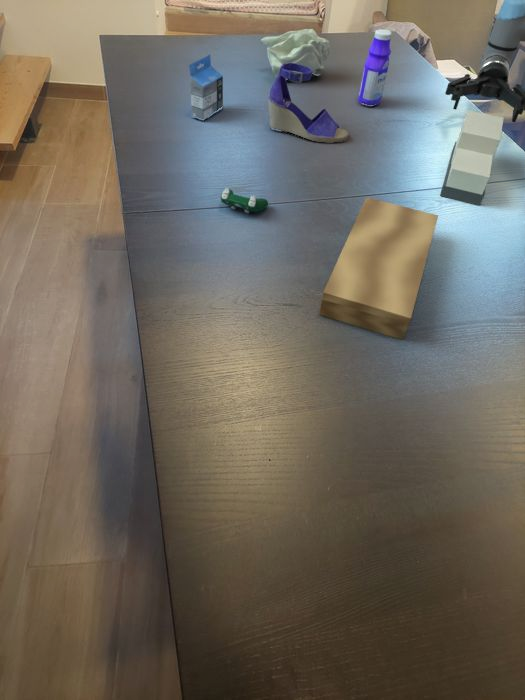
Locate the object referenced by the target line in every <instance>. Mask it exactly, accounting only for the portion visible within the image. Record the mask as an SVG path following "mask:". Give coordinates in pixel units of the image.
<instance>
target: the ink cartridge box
mask: <svg viewBox="0 0 525 700" xmlns="http://www.w3.org/2000/svg"><path fill="white" fill-rule="evenodd" d="M211 63H212V62H211V54H208V55H206V56H204V57H202V58H200V59H198V60H196V61H194V62H193V63H190V64H189V65H188V66H189V74H190V75H189V76H190V100H191V101H190V106H191V107H190V108H191V117H192V116H195V117H198V118H201V119H205V118H207V117H208V116H210V115H211V114H213V113H214V112H215V111H217V110H218V109H219V108H221V107H222V106H223V107H224V77H223V75H222V74H221V73H220V72H219V71H217V69H216V68H214V67H213V66H212V64H211ZM200 65H203V66H200ZM199 66H200V67H199ZM198 67H199V68H198Z"/></svg>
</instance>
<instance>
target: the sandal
mask: <svg viewBox="0 0 525 700" xmlns="http://www.w3.org/2000/svg"><path fill="white" fill-rule="evenodd" d="M295 71H296V72H295ZM294 73H295V74H294ZM302 73H303V74H302ZM285 78H287V79H289V80H288V81H290V82H291V83H297V84H301V83H302V82H306V81H309V80H311V79H312V69H310V68H309V67H306V66H304V65H300V64H295V63H286V64H285V63H284V64H282V66H281V68H280V72H279V75H278V77H277V79H275V81H274V83H273V84H272V86H271V87H270V91H269V96H268V108H269V109H268V111H269V126H270V127H272V128H274V129H278V130H281V131H286V132H285V133H287V132H290V133H293V134H295V135H294V136H296V135H298V136H297V137H299V136H301V137H303V138H302V139H304V138H306V139H309V140H312V141H311V142H313V141H317V142H316V143H318V142H333V143H332V144H335V143H334V142H340V143H342V142H341V141H344V140H346V141H347V139H348V137H349V133H348V131H347V130H346V129H344V128H341V127H340V125H339V124H338V123H337V122H336V121H335V120H334V119H333V117H332V116H331V115H330V114H329V112H328V110H327V109H326V108H323V109H321V110H320V111H319V112H318V113H317V114H316V115H315V116H314V117H313V118H312V119H311V118H310V117H309V116H308V115H307V114H306V113H305V112H304V111H303V110H302V109H301V108H300V107H299V106H297V104H296V103H294V102H293V101H292V99H291V95H290V91H289V87H288V81H286V79H285ZM290 133H289V134H290ZM293 134H292V135H293ZM301 137H300V138H301ZM306 139H305V140H306ZM309 140H308V141H309ZM344 142H345V141H344Z"/></svg>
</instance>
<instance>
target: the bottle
mask: <svg viewBox="0 0 525 700" xmlns="http://www.w3.org/2000/svg"><path fill="white" fill-rule="evenodd" d="M392 34H393V33H392V31H390V30H388V29H385V28H384V29H383V28H382V29H381V28H379V29H376V30H375V32H374V37H373V41H372V43H371V45H370V47H369V48H368V55H367V57H366V59H365V62H364V67H363V72H362V77H361V82H360V88H359V93H358V99H357V100H358V103H359V102H361V103H364V104H367V105H375V104H377V105H379V104H380V102H381V101H382V98H383V93H384V90H385V89H384V88H385V85H386V79H387V75H388V71H389V66H390V55H391V54H392V51H391V39H392ZM378 103H379V104H378Z"/></svg>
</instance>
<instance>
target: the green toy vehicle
mask: <svg viewBox="0 0 525 700" xmlns="http://www.w3.org/2000/svg"><path fill="white" fill-rule="evenodd" d="M220 201H221V203H222V204H224V205H229V206H230V209H232V210H236V209H237V208H241V209H243V211H244V213H246V214H249V213H250V212H261V211H263V210H265V209H266V208H267V207H268V206H269V201H268V200H267V199H266V198H262V197H261V198H256V196H255V195H254V194H253V195H251V196H250V197H246V196H243V195H242V196H241V195H238V194H235V193H234V191H233V190H232V189H229V188H227V187H225V189H224V190H223V191H222V193H221V195H220Z"/></svg>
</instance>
